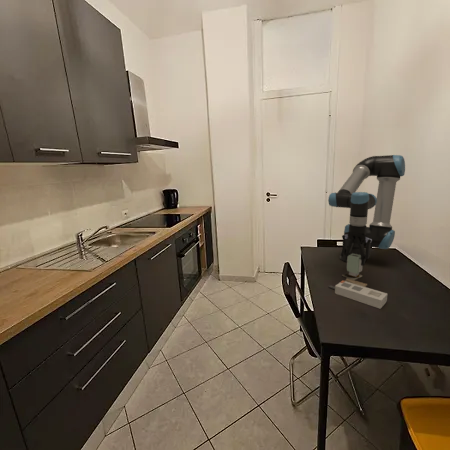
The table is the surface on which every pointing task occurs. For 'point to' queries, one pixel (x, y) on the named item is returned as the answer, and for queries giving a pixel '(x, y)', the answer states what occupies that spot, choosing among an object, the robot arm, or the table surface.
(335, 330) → the table surface
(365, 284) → the cork coaster
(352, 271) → the block
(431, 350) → the table surface
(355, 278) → the condiment
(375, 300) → the power strip
